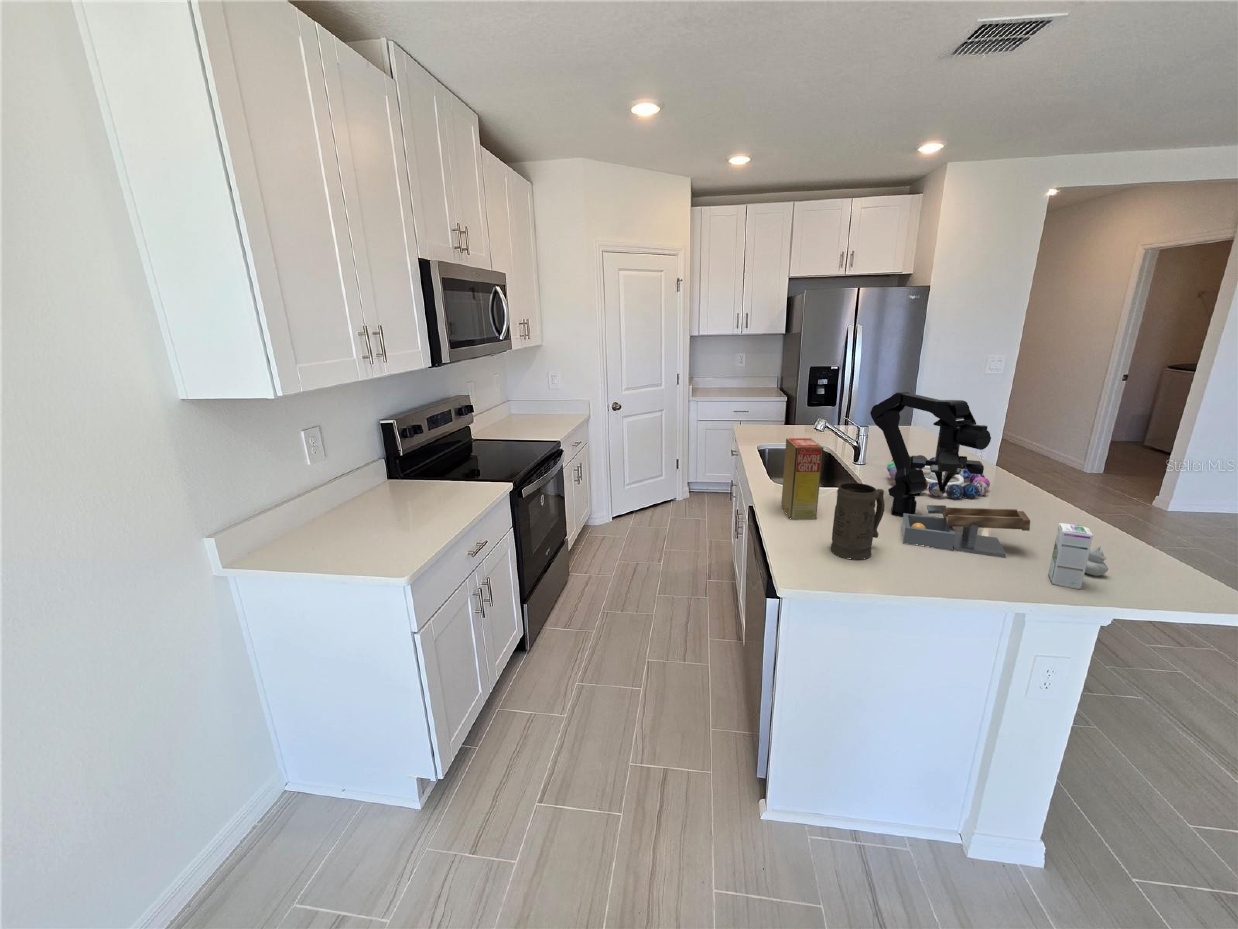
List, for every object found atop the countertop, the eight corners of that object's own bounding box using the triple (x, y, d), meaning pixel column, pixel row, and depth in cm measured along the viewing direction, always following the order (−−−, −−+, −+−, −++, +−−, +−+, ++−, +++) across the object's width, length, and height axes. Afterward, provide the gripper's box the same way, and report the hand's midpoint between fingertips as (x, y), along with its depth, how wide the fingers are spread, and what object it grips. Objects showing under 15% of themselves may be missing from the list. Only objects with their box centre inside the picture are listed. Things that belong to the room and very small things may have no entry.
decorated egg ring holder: (987, 519, 176) (995, 497, 173) (879, 495, 192) (884, 474, 189) (982, 485, 204) (988, 464, 200) (887, 466, 220) (892, 447, 217)
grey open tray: (903, 543, 149) (905, 527, 148) (901, 527, 160) (903, 513, 158) (952, 550, 144) (955, 534, 142) (947, 534, 154) (949, 518, 153)
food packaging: (818, 519, 168) (824, 447, 161) (789, 519, 168) (794, 447, 162) (806, 505, 181) (811, 437, 174) (779, 505, 181) (784, 437, 174)
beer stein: (851, 564, 137) (863, 494, 132) (820, 549, 147) (829, 483, 142) (888, 554, 144) (900, 488, 139) (855, 541, 154) (866, 478, 149)
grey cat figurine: (1103, 581, 125) (1111, 552, 123) (1068, 571, 130) (1075, 543, 128) (1108, 574, 128) (1115, 545, 126) (1074, 565, 134) (1081, 537, 131)
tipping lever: (931, 526, 147) (931, 515, 146) (927, 508, 161) (927, 497, 160) (1029, 530, 136) (1030, 518, 136) (1015, 510, 150) (1016, 499, 149)
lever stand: (953, 550, 144) (958, 524, 141) (948, 534, 154) (952, 509, 152) (1005, 557, 138) (1010, 531, 136) (996, 540, 149) (1001, 515, 147)
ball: (919, 523, 149) (929, 532, 149) (918, 518, 153) (928, 527, 152) (907, 531, 151) (918, 540, 151) (907, 526, 155) (917, 535, 154)
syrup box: (1081, 590, 122) (1095, 534, 118) (1050, 584, 125) (1062, 530, 121) (1076, 579, 126) (1090, 526, 122) (1046, 574, 129) (1058, 521, 125)
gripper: (914, 445, 149) (907, 495, 154) (991, 451, 141) (981, 503, 145) (912, 437, 159) (906, 484, 163) (984, 442, 150) (975, 492, 155)
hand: (941, 491), depth 156 cm, fingers closed
